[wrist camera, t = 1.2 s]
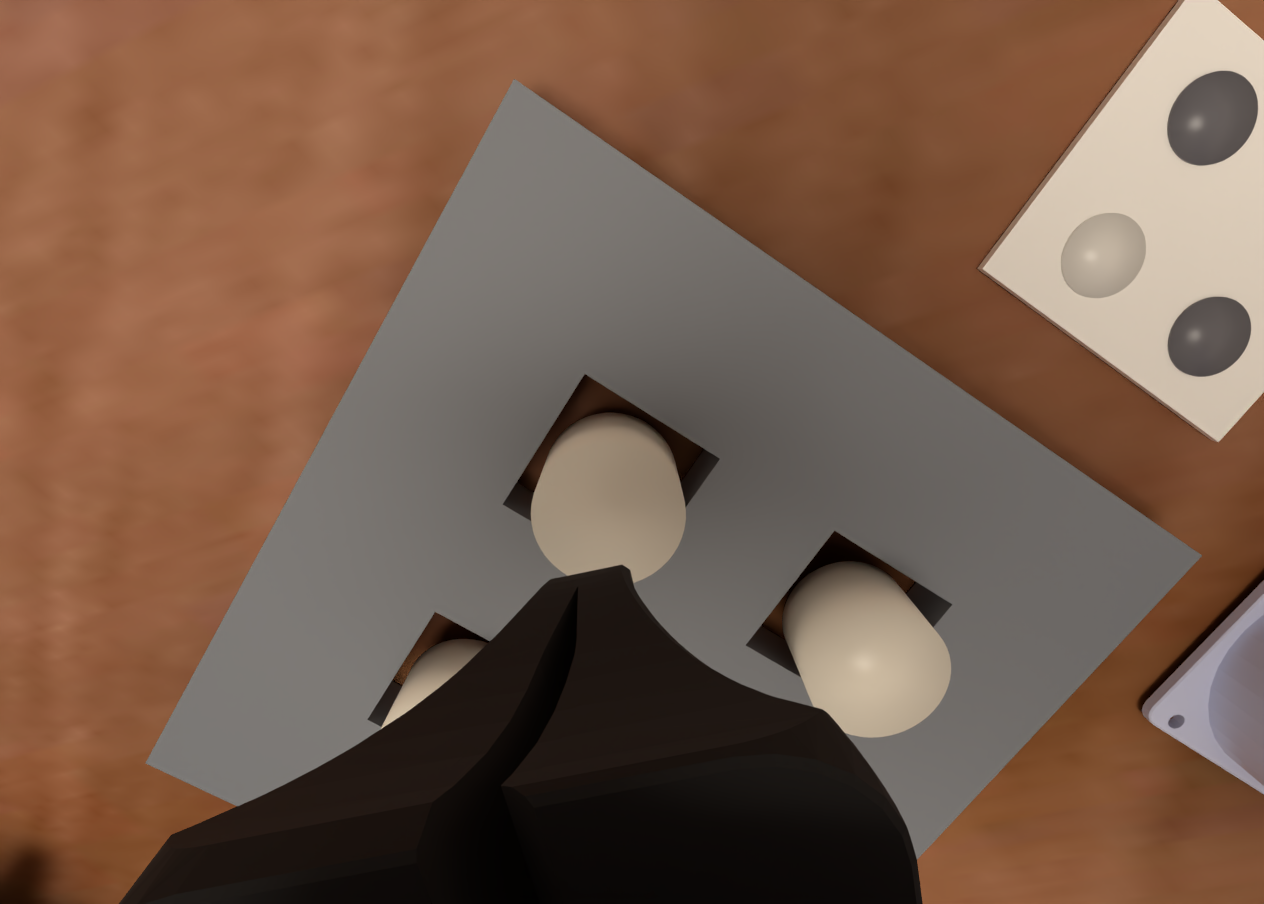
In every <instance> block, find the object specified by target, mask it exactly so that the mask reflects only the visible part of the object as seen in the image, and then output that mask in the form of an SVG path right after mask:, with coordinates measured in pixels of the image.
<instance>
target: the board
mask: <svg viewBox="0 0 1264 904" xmlns="http://www.w3.org/2000/svg"><path fill="white" fill-rule="evenodd" d="M584 374H586V375H587V376H589V377H590V378H592V379H594V380H595V381H597V382H598V383H600V384H602V385H603V386H605V387H606V388H608V389H610V390H611V391H613V392H614V393H616V394H618V395H619V396H621V397H622V398H624V399H625V400H627V401H629V402H630V403H632V404H633V405H635V406H637V407H638V408H640V409H641V410H643V411H645V412H646V413H648V414H649V415H651V416H653V417H654V418H656V419H657V420H659V421H661V422H662V423H664V424H665V425H667V426H669V427H670V428H672V429H673V430H675V431H677V432H678V433H680V434H681V435H683V436H684V437H686V438H688V439H689V440H691V441H692V442H694V443H696V444H697V445H699V446H700V447H702V448H704V450H703V451H702V453H701V454H700V456H699V457H698V459H697V460H696V461H695V463H694V464H693V466H692V467H691V469H690V470H689V472H688V473H687V474H686V476H685V477H684V479H683V480H682V482H681V483H680V484H681V488H682V492H683V496H684V500H685V507H686V522H685V529H684V532H683V536H682V539H681V541H680V543H679V546H678V547H677V549H676V551H675V552H674V554H673V555H672V557H671V558H670V559H669V560H668V561H667V563H665V564H664V565H663V566H662V567H661V568H660V569H659V570H657V571H656V572H655V573H653V574H652V575H650V576H648V577H646V578H645V579H642V580H640V581H637V582H635V583H633V584H634V588H635V590H636V592H637V593H638V595H639V597H640V598H641V600H642V601H643V603H644V604H645V605H646V607H647V608H648V609H649V611H650V612H651V613H652V615H653V616H654V617H655V618H656V620H657V621H658V622H659V623H660V624H661V625H662V626H663V628H664V629H665V630H666V631H667V632H668V633H669V634H670V635H671V636H672V637H673V638H674V639H675V640H676V641H677V642H678V643H679V644H681V645H682V646H683V647H684V648H685V649H686V650H688V651H689V652H690V653H691V654H693V655H694V656H695V657H696V658H698V659H699V660H700V661H702V662H703V663H705V664H706V665H707V666H709V667H710V668H712V669H714V670H715V671H717V672H719V673H721V674H723V675H724V676H726V677H728V678H730V679H731V680H734V681H736V682H738V683H740V684H742V685H745V686H747V687H750V688H752V689H755V690H757V691H760V692H762V693H765V694H767V695H770V696H773V697H777V698H781V699H785V700H789V701H793V702H797V703H800V704H804V705H808V706H812V707H814V706H813V704H812V702H811V700H810V697H809V695H808V692H807V690H806V688H805V685H804V683H803V680H802V678H801V676H800V673H799V671H798V668H797V666H796V663H795V661H794V659H793V656H792V654H791V651H790V649H789V646H788V644H787V642H786V640H784V639H782V638H781V637H779V636H777V635H775V634H774V633H772V632H770V631H769V630H767V629H765V628H764V627H762V626H761V625H762V623H763V622H764V621H765V620H766V618H767V617H768V616H769V614H770V613H771V612H772V611H773V609H774V608H775V607H776V605H777V604H778V603H779V602H780V600H781V599H782V598H783V596H784V595H785V594H786V592H787V591H788V590H789V589H790V587H791V586H792V585H793V583H794V582H795V581H796V580H797V578H798V577H799V576H800V574H801V573H802V572H803V571H804V569H805V568H806V567H807V565H808V564H809V563H810V561H811V560H812V559H813V558H814V556H815V555H816V554H817V552H818V551H819V550H820V549H821V547H822V546H823V545H824V543H825V542H826V541H827V540H828V538H829V537H830V536H831V534H832V533H833V532H834V531H836V532H838V533H839V534H841V535H842V536H844V537H846V538H847V539H849V540H850V541H852V542H854V543H855V544H857V545H858V546H860V547H861V548H863V549H865V550H866V551H868V552H869V553H871V554H873V555H874V556H876V557H877V558H879V559H881V560H882V561H884V562H885V563H887V564H889V565H890V566H892V567H893V568H895V569H897V570H898V571H900V572H901V573H903V574H905V575H906V576H908V577H909V578H911V579H913V580H914V581H916V583H915V584H914V585H913V587H912V588H911V589H910V590H909V591H908V593H907V594H906V595H907V596H908V597H909V599H910V600H911V601H912V602H913V604H914V605H915V606H916V607H917V608H918V610H919V611H920V612H921V613H922V615H923V616H924V617H925V618H926V619H927V621H928V622H929V623H930V624H931V626H932V627H933V628H934V629H935V631H936V632H937V633H938V634H939V636H940V637H941V638H942V640H943V641H944V643H945V645H946V647H947V649H948V652H949V655H950V660H951V676H950V682H949V685H948V688H947V691H946V693H945V695H944V697H943V699H942V700H941V702H940V703H939V705H938V706H937V707H936V709H935V710H934V711H933V712H932V713H931V714H930V715H929V716H928V717H926V718H925V719H924V720H923V721H921V722H920V723H918V724H917V725H915V726H914V727H912V728H910V729H908V730H906V731H903V732H900V733H897V734H894V735H890V736H885V737H873V738H868V737H859V736H854V735H850V734H847V733H845V734H846V735H847V736H848V737H849V739H850V740H851V741H852V742H853V744H854V745H855V746H856V747H857V749H858V750H859V751H860V753H861V754H862V756H863V757H864V758H865V760H866V761H867V762H868V764H869V765H870V766H871V768H872V769H873V771H874V772H875V774H876V775H877V776H878V778H879V779H880V781H881V782H882V784H883V785H884V787H885V788H886V790H887V792H888V793H889V795H890V796H891V798H892V800H893V801H894V803H895V804H896V806H897V808H898V810H899V812H900V814H901V816H902V818H903V820H904V822H905V824H906V826H907V828H908V831H909V834H910V837H911V841H912V844H913V847H914V851H915V854H916V858H917V859H918V858H919V857H920V856H921V855H922V854H923V853H924V852H925V851H926V850H927V848H928V847H929V846H930V845H931V844H932V843H933V842H934V841H935V840H936V839H937V838H938V837H939V836H940V835H941V834H942V832H943V831H944V830H945V829H946V828H947V827H948V826H949V825H950V824H951V823H952V822H953V821H954V820H955V819H956V818H957V816H958V815H959V814H960V813H961V812H962V811H963V810H964V809H965V808H966V807H967V806H968V805H969V804H970V803H971V802H972V800H973V799H974V798H975V797H976V796H977V795H978V794H979V793H980V792H981V791H982V790H983V789H984V788H985V787H986V786H987V784H988V783H989V782H990V781H991V780H992V779H993V778H994V777H995V776H996V775H997V774H998V773H999V772H1000V771H1001V770H1002V768H1003V767H1004V766H1005V765H1006V764H1007V763H1008V762H1009V761H1010V760H1011V759H1012V758H1013V757H1014V756H1015V755H1016V754H1017V752H1018V751H1019V750H1020V749H1021V748H1022V747H1023V746H1024V745H1025V744H1026V743H1027V742H1028V741H1029V740H1030V739H1031V738H1032V736H1033V735H1034V734H1035V733H1036V732H1037V731H1038V730H1039V729H1040V728H1041V727H1042V726H1043V725H1044V724H1045V723H1046V722H1047V720H1048V719H1049V718H1050V717H1051V716H1052V715H1053V714H1054V713H1055V712H1056V711H1057V710H1058V709H1059V708H1060V707H1061V706H1062V704H1063V703H1064V702H1065V701H1066V700H1067V699H1068V698H1069V697H1070V696H1071V695H1072V694H1073V693H1074V692H1075V691H1076V690H1077V688H1078V687H1079V686H1080V685H1081V684H1082V683H1083V682H1084V681H1085V680H1086V679H1087V678H1088V677H1089V676H1090V675H1091V674H1092V673H1093V671H1094V670H1095V669H1096V668H1097V667H1098V666H1099V665H1100V664H1101V663H1102V662H1103V661H1104V660H1105V659H1106V658H1107V657H1108V655H1109V654H1110V653H1111V652H1112V651H1113V650H1114V649H1115V648H1116V647H1117V646H1118V645H1119V644H1120V643H1121V642H1122V641H1123V639H1124V638H1125V637H1126V636H1127V635H1128V634H1129V633H1130V632H1131V631H1132V630H1133V629H1134V628H1135V627H1136V626H1137V625H1138V623H1139V622H1140V621H1141V620H1142V619H1143V618H1144V617H1145V616H1146V615H1147V614H1148V613H1149V612H1150V611H1151V610H1152V609H1153V607H1154V606H1155V605H1156V604H1157V603H1158V602H1159V601H1160V600H1161V599H1162V598H1163V597H1164V596H1165V595H1166V594H1167V593H1168V591H1169V590H1170V589H1171V588H1172V587H1173V586H1174V585H1175V584H1176V583H1177V582H1178V581H1179V580H1180V579H1181V578H1182V577H1183V575H1184V574H1185V573H1186V572H1187V571H1188V570H1189V569H1190V568H1191V567H1192V566H1193V565H1194V564H1195V563H1196V562H1197V561H1198V559H1199V558H1200V557H1201V556H1202V555H1200V554H1199V553H1198V552H1196V551H1195V550H1193V549H1192V548H1190V547H1189V546H1187V545H1186V544H1185V543H1183V542H1182V541H1180V540H1179V539H1177V538H1176V537H1175V536H1173V535H1172V534H1170V533H1169V532H1167V531H1166V530H1164V529H1163V528H1162V527H1160V526H1159V525H1157V524H1156V523H1154V522H1153V521H1151V520H1150V519H1149V518H1147V517H1146V516H1144V515H1143V514H1141V513H1140V512H1138V511H1137V510H1136V509H1134V508H1133V507H1131V506H1130V505H1128V504H1127V503H1125V502H1124V501H1123V500H1121V499H1120V498H1118V497H1117V496H1115V495H1114V494H1112V493H1111V492H1110V491H1108V490H1107V489H1105V488H1104V487H1102V486H1101V485H1099V484H1098V483H1097V482H1095V481H1094V480H1092V479H1091V478H1089V477H1088V476H1087V475H1085V474H1084V473H1082V472H1081V471H1079V470H1078V469H1076V468H1075V467H1074V466H1072V465H1071V464H1069V463H1068V462H1066V461H1065V460H1063V459H1062V458H1061V457H1059V456H1058V455H1056V454H1055V453H1053V452H1052V451H1050V450H1049V449H1048V448H1046V447H1045V446H1043V445H1042V444H1040V443H1039V442H1037V441H1036V440H1035V439H1033V438H1032V437H1030V436H1029V435H1027V434H1026V433H1024V432H1023V431H1022V430H1020V429H1019V428H1017V427H1016V426H1014V425H1013V424H1011V423H1010V422H1009V421H1007V420H1006V419H1004V418H1003V417H1001V416H1000V415H998V414H997V413H996V412H994V411H993V410H991V409H990V408H988V407H987V406H986V405H984V404H983V403H981V402H980V401H978V400H977V399H975V398H974V397H973V396H971V395H970V394H968V393H967V392H965V391H964V390H962V389H961V388H960V387H958V386H957V385H955V384H954V383H952V382H951V381H949V380H948V379H947V378H945V377H944V376H942V375H941V374H939V373H938V372H936V371H935V370H934V369H932V368H931V367H929V366H928V365H926V364H925V363H923V362H922V361H921V360H919V359H918V358H916V357H915V356H913V355H912V354H910V353H909V352H908V351H906V350H905V349H903V348H902V347H900V346H899V345H897V344H896V343H895V342H893V341H892V340H890V339H889V338H887V337H886V336H885V335H883V334H882V333H880V332H879V331H877V330H876V329H874V328H873V327H872V326H870V325H869V324H867V323H866V322H864V321H863V320H861V319H860V318H859V317H857V316H856V315H854V314H853V313H851V312H850V311H848V310H847V309H846V308H844V307H843V306H841V305H840V304H838V303H837V302H835V301H834V300H833V299H831V298H830V297H828V296H827V295H825V294H824V293H822V292H821V291H820V290H818V289H817V288H815V287H814V286H812V285H811V284H809V283H808V282H807V281H805V280H804V279H802V278H801V277H799V276H798V275H796V274H795V273H794V272H792V271H791V270H789V269H788V268H786V267H785V266H784V265H782V264H781V263H779V262H778V261H776V260H775V259H773V258H772V257H771V256H769V255H768V254H766V253H765V252H763V251H762V250H760V249H759V248H758V247H756V246H755V245H753V244H752V243H750V242H749V241H747V240H746V239H745V238H743V237H742V236H740V235H739V234H737V233H736V232H734V231H733V230H732V229H730V228H729V227H727V226H726V225H724V224H723V223H721V222H720V221H719V220H717V219H716V218H714V217H713V216H711V215H710V214H708V213H707V212H706V211H704V210H703V209H701V208H700V207H698V206H697V205H696V204H694V203H693V202H691V201H690V200H688V199H687V198H685V197H684V196H683V195H681V194H680V193H678V192H677V191H675V190H674V189H672V188H671V187H670V186H668V185H667V184H665V183H664V182H662V181H661V180H659V179H658V178H657V177H655V176H654V175H652V174H651V173H649V172H648V171H646V170H645V169H644V168H642V167H641V166H639V165H638V164H636V163H635V162H633V161H632V160H631V159H629V158H628V157H626V156H625V155H623V154H622V153H620V152H619V151H618V150H616V149H615V148H613V147H612V146H610V145H609V144H607V143H606V142H605V141H603V140H602V139H600V138H599V137H597V136H596V135H595V134H593V133H592V132H590V131H589V130H587V129H586V128H584V127H583V126H582V125H580V124H579V123H577V122H576V121H574V120H573V119H571V118H570V117H569V116H567V115H566V114H564V113H563V112H561V111H560V110H558V109H557V108H556V107H554V106H553V105H551V104H550V103H548V102H547V101H545V100H544V99H543V98H541V97H540V96H538V95H537V94H535V93H534V92H532V91H531V90H530V89H528V88H527V87H525V86H524V85H522V84H521V83H519V82H518V81H517V80H515V79H514V80H513V82H512V84H511V86H510V88H509V90H508V91H507V93H506V95H505V97H504V99H503V101H502V103H501V104H500V106H499V108H498V110H497V112H496V114H495V116H494V117H493V119H492V121H491V123H490V125H489V127H488V129H487V130H486V132H485V134H484V136H483V138H482V140H481V142H480V143H479V145H478V147H477V149H476V151H475V153H474V155H473V156H472V158H471V160H470V162H469V164H468V166H467V168H466V169H465V171H464V173H463V175H462V177H461V179H460V181H459V182H458V184H457V186H456V188H455V190H454V192H453V194H452V195H451V197H450V199H449V201H448V203H447V205H446V206H445V208H444V210H443V212H442V214H441V216H440V218H439V219H438V221H437V223H436V225H435V227H434V229H433V231H432V232H431V234H430V236H429V238H428V240H427V242H426V244H425V245H424V247H423V249H422V251H421V253H420V255H419V257H418V258H417V260H416V262H415V264H414V266H413V268H412V270H411V271H410V273H409V275H408V277H407V279H406V281H405V283H404V284H403V286H402V288H401V290H400V292H399V294H398V296H397V297H396V299H395V301H394V303H393V305H392V307H391V309H390V310H389V312H388V314H387V316H386V318H385V320H384V322H383V323H382V325H381V327H380V329H379V331H378V333H377V335H376V336H375V338H374V340H373V342H372V344H371V346H370V348H369V349H368V351H367V353H366V355H365V357H364V359H363V361H362V362H361V364H360V366H359V368H358V370H357V372H356V374H355V375H354V377H353V379H352V381H351V383H350V385H349V387H348V388H347V390H346V392H345V394H344V396H343V398H342V400H341V401H340V403H339V405H338V407H337V409H336V411H335V413H334V414H333V416H332V418H331V420H330V422H329V424H328V426H327V427H326V429H325V431H324V433H323V435H322V437H321V438H320V440H319V442H318V444H317V446H316V448H315V450H314V451H313V453H312V455H311V457H310V459H309V461H308V463H307V464H306V466H305V468H304V470H303V472H302V474H301V476H300V477H299V479H298V481H297V483H296V485H295V487H294V489H293V490H292V492H291V494H290V496H289V498H288V500H287V502H286V503H285V505H284V507H283V509H282V511H281V513H280V515H279V516H278V518H277V520H276V522H275V524H274V526H273V528H272V529H271V531H270V533H269V535H268V537H267V539H266V541H265V542H264V544H263V546H262V548H261V550H260V552H259V554H258V555H257V557H256V559H255V561H254V563H253V565H252V567H251V568H250V570H249V572H248V574H247V576H246V578H245V580H244V581H243V583H242V585H241V587H240V589H239V591H238V593H237V594H236V596H235V598H234V600H233V602H232V604H231V606H230V607H229V609H228V611H227V613H226V615H225V617H224V619H223V620H222V622H221V624H220V626H219V628H218V630H217V632H216V633H215V635H214V637H213V639H212V641H211V643H210V645H209V646H208V648H207V650H206V652H205V654H204V656H203V658H202V659H201V661H200V663H199V665H198V667H197V669H196V670H195V672H194V674H193V676H192V678H191V680H190V682H189V683H188V685H187V687H186V689H185V691H184V693H183V695H182V696H181V698H180V700H179V702H178V704H177V706H176V708H175V709H174V711H173V713H172V715H171V717H170V719H169V721H168V722H167V724H166V726H165V728H164V730H163V732H162V734H161V735H160V737H159V739H158V741H157V743H156V745H155V747H154V748H153V750H152V752H151V754H150V756H149V758H148V760H147V761H146V764H148V765H150V766H152V767H154V768H157V769H159V770H161V771H163V772H165V773H167V774H169V775H172V776H174V777H176V778H178V779H180V780H182V781H184V782H187V783H189V784H191V785H193V786H195V787H197V788H199V789H201V790H204V791H206V792H208V793H210V794H212V795H214V796H216V797H219V798H221V799H223V800H225V801H227V802H229V803H231V804H234V805H236V806H240V805H242V804H244V803H246V802H249V801H251V800H253V799H255V798H258V797H260V796H262V795H264V794H266V793H268V792H270V791H272V790H274V789H276V788H278V787H281V786H283V785H285V784H286V783H288V782H290V781H292V780H294V779H296V778H298V777H300V776H302V775H304V774H306V773H308V772H310V771H311V770H313V769H315V768H317V767H319V766H321V765H323V764H324V763H326V762H328V761H330V760H331V759H333V758H335V757H337V756H338V755H340V754H342V753H344V752H346V751H347V750H349V749H351V748H352V747H354V746H356V745H357V744H359V743H360V742H362V741H363V740H365V739H366V738H368V737H369V736H371V735H372V734H374V733H376V732H377V731H379V730H380V729H381V727H382V725H383V723H384V721H385V719H386V717H387V715H388V713H389V711H390V710H391V708H392V706H393V704H394V702H395V700H396V698H397V696H398V694H399V692H400V690H401V688H402V686H401V685H399V684H397V683H395V682H393V681H392V680H393V678H394V676H395V675H396V673H397V672H398V670H399V668H400V667H401V665H402V664H403V662H404V661H405V659H406V657H407V656H408V654H409V653H410V651H411V649H412V648H413V646H414V645H415V643H416V641H417V640H418V638H419V637H420V635H421V634H422V632H423V630H424V629H425V627H426V626H427V624H428V622H429V621H430V619H431V618H432V616H433V614H434V613H435V612H436V613H438V614H440V615H442V616H444V617H446V618H448V619H449V620H451V621H453V622H455V623H457V624H459V625H460V626H462V627H464V628H466V629H468V630H470V631H472V632H473V633H475V634H477V635H479V636H481V637H483V638H484V639H486V640H488V641H491V640H492V639H493V638H494V637H495V636H496V635H497V634H498V633H499V632H500V631H501V630H502V629H503V628H504V627H505V626H506V625H507V623H508V622H509V621H510V620H511V619H512V618H513V617H514V616H515V615H516V614H517V613H518V612H519V611H520V610H521V609H522V607H523V606H524V605H525V604H526V603H527V602H528V601H529V600H530V599H531V598H532V597H533V596H534V594H535V593H536V592H537V591H538V590H539V589H540V588H541V587H542V586H543V585H544V584H545V583H546V582H548V581H549V580H550V579H554V578H559V577H564V576H567V575H566V574H564V573H563V572H561V571H560V570H559V569H557V568H556V567H555V566H554V565H553V564H552V563H551V562H550V561H549V560H548V559H547V558H546V556H545V555H544V553H543V552H542V551H541V549H540V547H539V545H538V543H537V541H536V538H535V536H534V533H533V528H532V524H531V504H532V499H533V495H534V492H532V491H530V490H529V489H527V488H525V487H523V486H522V485H520V484H518V483H517V481H518V479H519V478H520V476H521V474H522V473H523V471H524V470H525V468H526V467H527V465H528V463H529V462H530V460H531V459H532V457H533V455H534V454H535V452H536V451H537V449H538V447H539V446H540V444H541V443H542V441H543V439H544V438H545V436H546V435H547V433H548V432H549V430H550V428H551V427H552V425H553V424H554V422H555V420H556V419H557V417H558V416H559V414H560V412H561V411H562V409H563V408H564V406H565V404H566V403H567V401H568V400H569V398H570V397H571V395H572V393H573V392H574V390H575V389H576V387H577V385H578V384H579V382H580V381H581V379H582V377H583V376H584Z"/></svg>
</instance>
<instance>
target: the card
mask: <svg viewBox="0 0 1264 904" xmlns="http://www.w3.org/2000/svg"><path fill="white" fill-rule="evenodd" d="M977 269H978V270H980V271H981V272H982V273H984V274H985V275H986V276H988V277H989V278H990V279H992V280H993V281H995V282H996V283H997V284H999V285H1000V286H1001V287H1003V288H1004V289H1005V290H1007V291H1008V292H1010V293H1011V294H1012V295H1014V296H1015V297H1016V298H1018V299H1019V300H1020V301H1022V302H1023V303H1025V304H1026V305H1027V306H1029V307H1030V308H1031V309H1033V310H1034V311H1036V312H1037V313H1038V314H1040V315H1041V316H1042V317H1044V318H1045V319H1046V320H1048V321H1049V322H1051V323H1052V324H1053V325H1055V326H1056V327H1057V328H1059V329H1060V330H1061V331H1063V332H1064V333H1066V334H1067V335H1068V336H1070V337H1071V338H1072V339H1074V340H1075V341H1076V342H1078V343H1079V344H1081V345H1082V346H1083V347H1085V348H1086V349H1087V350H1089V351H1090V352H1092V353H1093V354H1094V355H1096V356H1097V357H1098V358H1100V359H1101V360H1102V361H1104V362H1105V363H1107V364H1108V365H1109V366H1111V367H1112V368H1113V369H1115V370H1116V371H1117V372H1119V373H1120V374H1122V375H1123V376H1124V377H1126V378H1127V379H1128V380H1130V381H1131V382H1132V383H1134V384H1135V385H1137V386H1138V387H1139V388H1141V389H1142V390H1143V391H1145V392H1146V393H1147V394H1149V395H1150V396H1152V397H1153V398H1154V399H1156V400H1157V401H1158V402H1160V403H1161V404H1163V405H1164V406H1165V407H1167V408H1168V409H1169V410H1171V411H1172V412H1173V413H1175V414H1176V415H1178V416H1179V417H1180V418H1182V419H1183V420H1184V421H1186V422H1187V423H1188V424H1190V425H1191V426H1193V427H1194V428H1195V429H1197V430H1198V431H1199V432H1201V433H1202V434H1203V435H1205V436H1206V437H1208V438H1209V439H1210V440H1213V441H1216V442H1219V441H1220V440H1221V439H1222V438H1223V437H1224V436H1225V435H1226V433H1227V432H1228V431H1229V430H1230V429H1231V428H1232V427H1233V426H1234V425H1235V423H1236V422H1237V421H1238V420H1239V419H1240V418H1241V417H1242V416H1243V415H1244V413H1245V412H1246V411H1247V410H1248V409H1249V408H1250V407H1251V406H1252V405H1253V404H1254V402H1255V401H1256V400H1257V399H1258V398H1259V397H1260V396H1261V395H1262V394H1263V392H1264V40H1262V39H1261V38H1260V37H1259V36H1258V35H1257V34H1256V33H1254V32H1253V31H1252V30H1251V29H1250V28H1249V27H1248V26H1246V25H1245V24H1244V23H1243V22H1242V21H1241V20H1240V19H1238V18H1237V17H1236V16H1235V15H1234V14H1233V13H1232V12H1230V11H1229V10H1228V9H1227V8H1226V7H1225V6H1224V5H1222V4H1221V3H1220V2H1219V1H1218V0H1179V1H1178V2H1177V3H1176V5H1175V6H1174V7H1173V9H1172V10H1171V11H1170V13H1169V14H1168V15H1167V16H1166V18H1165V19H1164V20H1163V22H1162V23H1161V24H1160V26H1159V27H1158V28H1157V30H1156V31H1155V32H1154V34H1153V35H1152V36H1151V38H1150V39H1149V40H1148V42H1147V43H1146V44H1145V46H1144V47H1143V48H1142V50H1141V51H1140V52H1139V54H1138V55H1137V56H1136V58H1135V59H1134V60H1133V62H1132V63H1131V64H1130V66H1129V67H1128V68H1127V70H1126V71H1125V72H1124V74H1123V75H1122V76H1121V78H1120V79H1119V80H1118V82H1117V83H1116V84H1115V86H1114V87H1113V88H1112V90H1111V91H1110V92H1109V94H1108V95H1107V96H1106V98H1105V99H1104V100H1103V102H1102V103H1101V104H1100V106H1099V107H1098V108H1097V110H1096V111H1095V112H1094V114H1093V115H1092V116H1091V118H1090V119H1089V120H1088V122H1087V123H1086V124H1085V126H1084V127H1083V128H1082V130H1081V131H1080V132H1079V134H1078V135H1077V136H1076V138H1075V139H1074V140H1073V142H1072V143H1071V144H1070V146H1069V147H1068V148H1067V150H1066V151H1065V152H1064V154H1063V155H1062V156H1061V158H1060V159H1059V160H1058V162H1057V163H1056V164H1055V166H1054V167H1053V168H1052V170H1051V171H1050V172H1049V173H1048V175H1047V176H1046V177H1045V179H1044V180H1043V181H1042V183H1041V184H1040V185H1039V187H1038V188H1037V189H1036V191H1035V192H1034V193H1033V195H1032V196H1031V197H1030V199H1029V200H1028V201H1027V203H1026V204H1025V205H1024V207H1023V208H1022V209H1021V211H1020V212H1019V213H1018V215H1017V216H1016V217H1015V219H1014V220H1013V221H1012V223H1011V224H1010V225H1009V227H1008V228H1007V229H1006V231H1005V232H1004V233H1003V235H1002V236H1001V237H1000V239H999V240H998V241H997V243H996V244H995V245H994V247H993V248H992V249H991V251H990V252H989V253H988V255H987V256H986V257H985V259H984V260H983V261H982V263H981V264H980V265H979V267H978V268H977Z"/></svg>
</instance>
